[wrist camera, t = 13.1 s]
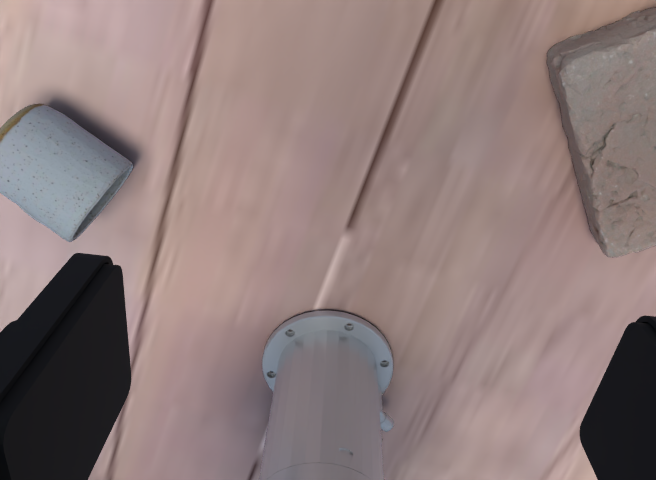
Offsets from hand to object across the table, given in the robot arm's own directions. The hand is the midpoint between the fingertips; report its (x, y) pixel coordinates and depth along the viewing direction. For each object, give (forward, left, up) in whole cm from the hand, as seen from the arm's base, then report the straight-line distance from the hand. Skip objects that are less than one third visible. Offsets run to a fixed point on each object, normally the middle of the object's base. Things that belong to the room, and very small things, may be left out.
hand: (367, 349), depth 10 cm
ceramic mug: (+6, +24, -34) cm, 42 cm away
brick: (-18, -12, -34) cm, 40 cm away
